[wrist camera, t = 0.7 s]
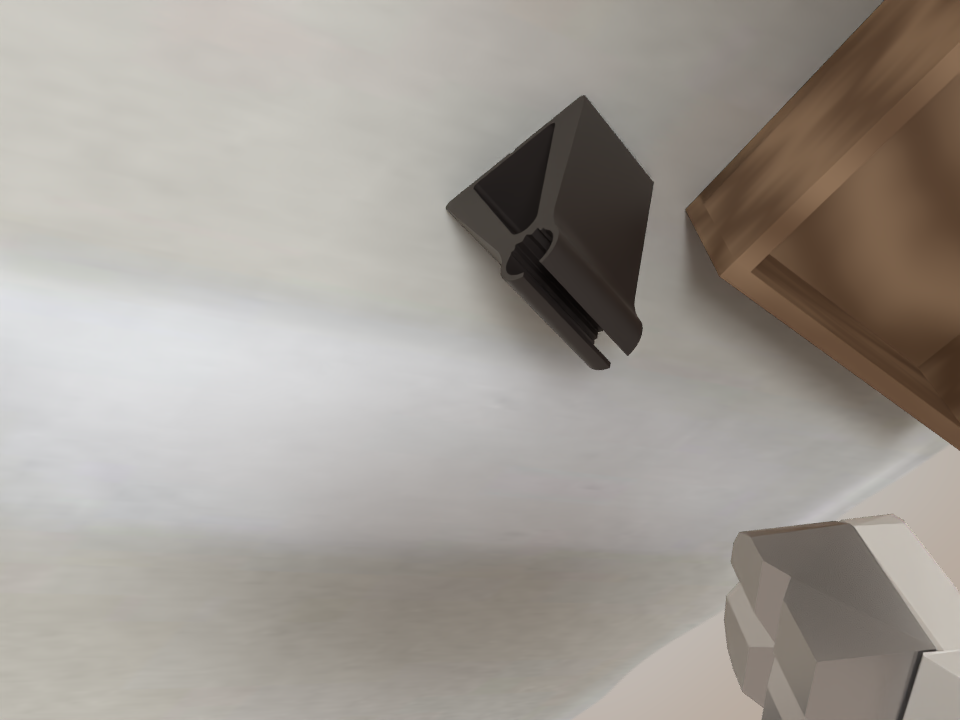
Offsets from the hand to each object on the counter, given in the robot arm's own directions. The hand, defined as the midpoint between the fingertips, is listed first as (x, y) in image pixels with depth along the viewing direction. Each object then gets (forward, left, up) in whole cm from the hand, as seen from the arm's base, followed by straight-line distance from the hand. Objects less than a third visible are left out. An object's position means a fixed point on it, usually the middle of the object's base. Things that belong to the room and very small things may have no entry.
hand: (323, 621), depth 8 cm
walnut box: (-7, +28, -36) cm, 46 cm away
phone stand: (+6, +12, -36) cm, 39 cm away
